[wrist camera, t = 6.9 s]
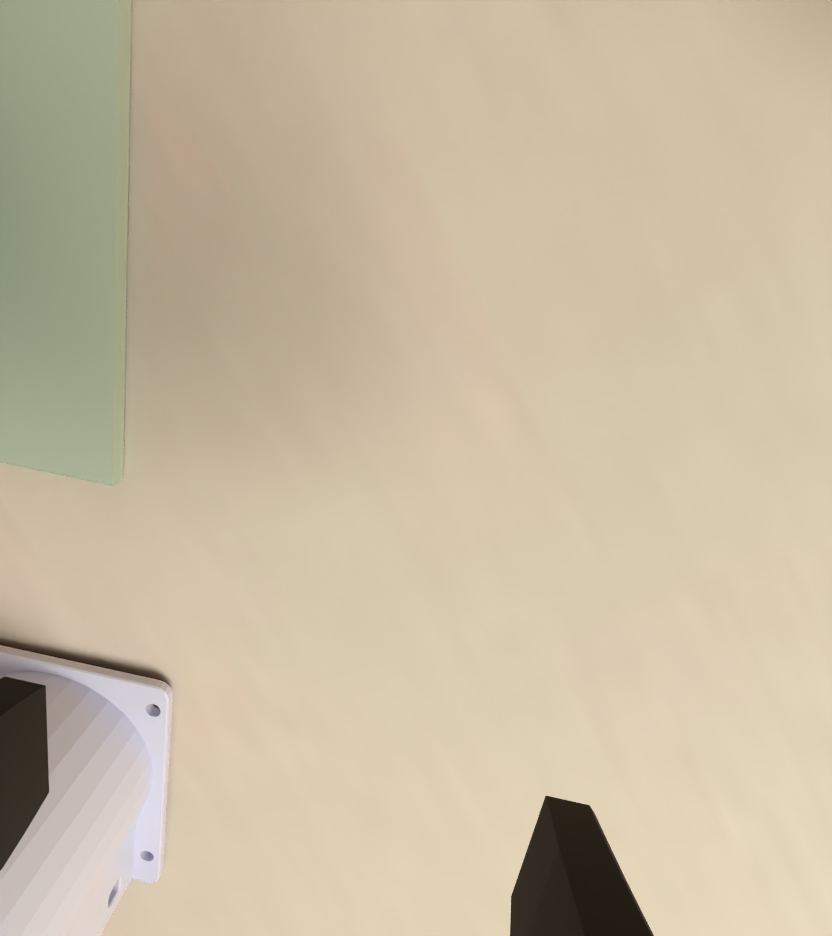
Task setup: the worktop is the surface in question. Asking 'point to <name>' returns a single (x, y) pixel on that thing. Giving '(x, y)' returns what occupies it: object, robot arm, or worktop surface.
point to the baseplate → (64, 234)
